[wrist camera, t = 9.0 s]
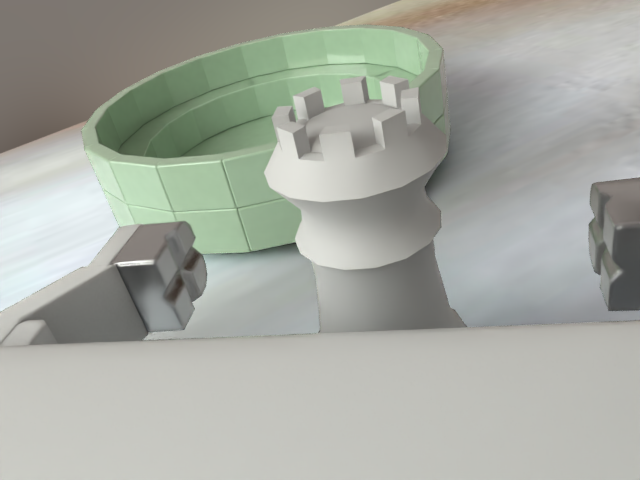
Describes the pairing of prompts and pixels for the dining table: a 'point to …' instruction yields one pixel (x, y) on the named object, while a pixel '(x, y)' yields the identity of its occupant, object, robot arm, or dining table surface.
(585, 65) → the dining table surface
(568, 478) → the robot arm
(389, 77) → the rook chess piece
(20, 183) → the dining table surface
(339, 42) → the bowl
